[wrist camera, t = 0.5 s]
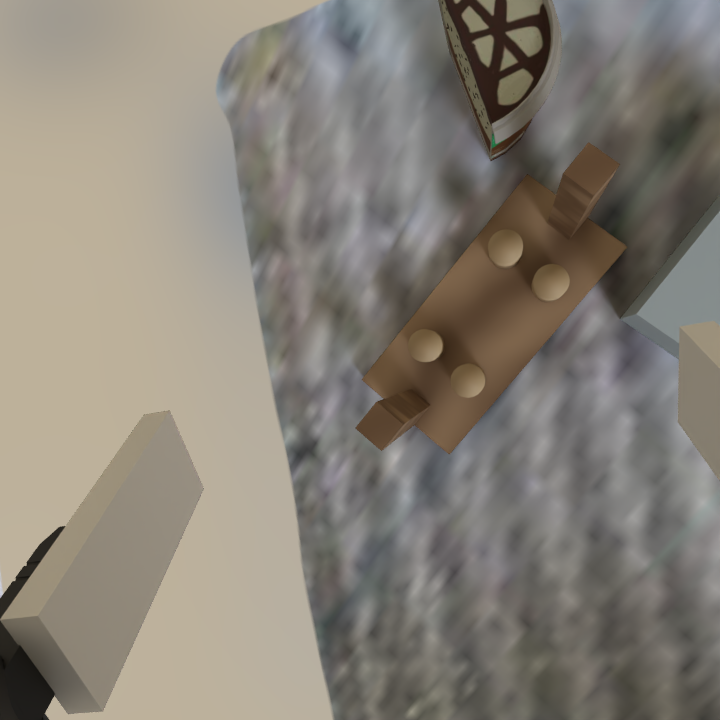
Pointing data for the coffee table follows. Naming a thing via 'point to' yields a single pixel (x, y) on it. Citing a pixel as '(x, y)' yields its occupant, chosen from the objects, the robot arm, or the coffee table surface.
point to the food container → (503, 62)
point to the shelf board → (682, 287)
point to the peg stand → (494, 308)
